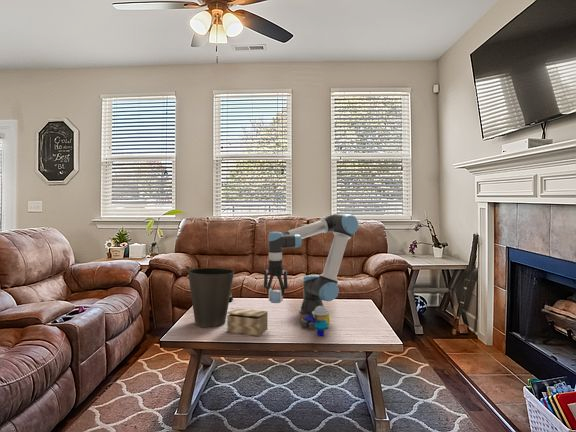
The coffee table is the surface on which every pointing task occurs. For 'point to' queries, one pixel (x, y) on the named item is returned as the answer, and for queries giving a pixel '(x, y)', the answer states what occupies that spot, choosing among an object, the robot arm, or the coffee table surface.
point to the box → (247, 324)
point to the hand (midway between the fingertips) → (275, 300)
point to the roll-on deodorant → (275, 296)
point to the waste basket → (210, 295)
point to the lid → (247, 312)
